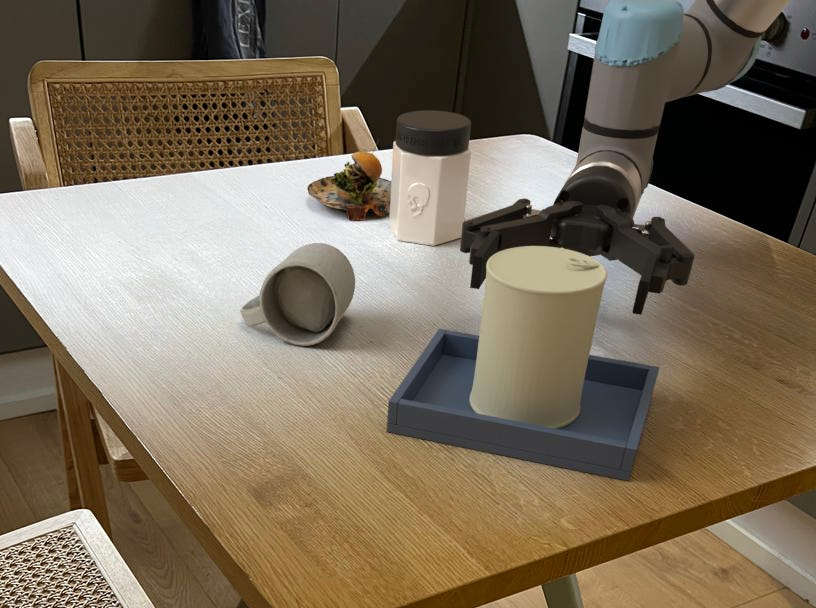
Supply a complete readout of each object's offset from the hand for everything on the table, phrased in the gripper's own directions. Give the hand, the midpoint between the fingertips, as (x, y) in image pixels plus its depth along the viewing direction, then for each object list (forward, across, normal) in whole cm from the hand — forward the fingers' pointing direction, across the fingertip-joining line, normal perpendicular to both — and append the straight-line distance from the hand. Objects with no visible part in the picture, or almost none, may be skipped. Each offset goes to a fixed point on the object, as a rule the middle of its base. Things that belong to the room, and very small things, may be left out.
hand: (556, 285), depth 79 cm
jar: (-33, +20, -9) cm, 39 cm away
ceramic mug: (-3, +24, -9) cm, 26 cm away
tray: (+6, 0, -9) cm, 11 cm away
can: (+6, 0, -8) cm, 10 cm away
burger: (-39, +31, -9) cm, 50 cm away
